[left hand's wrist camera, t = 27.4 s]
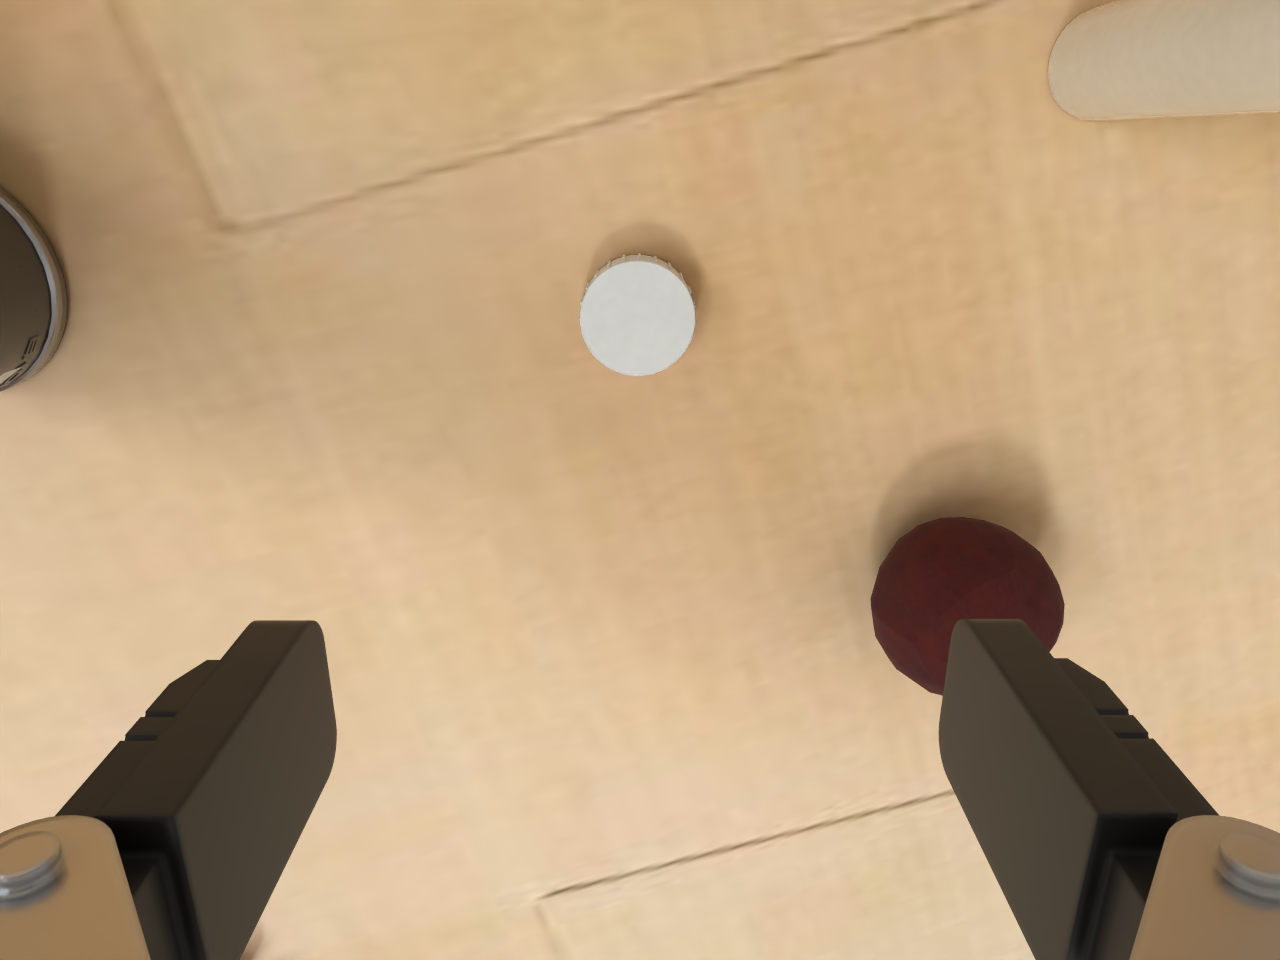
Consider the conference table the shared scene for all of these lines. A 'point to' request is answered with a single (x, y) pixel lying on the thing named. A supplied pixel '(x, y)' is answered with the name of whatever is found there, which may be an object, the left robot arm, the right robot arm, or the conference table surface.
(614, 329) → the lid
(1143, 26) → the grey cylinder
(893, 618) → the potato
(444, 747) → the conference table surface
